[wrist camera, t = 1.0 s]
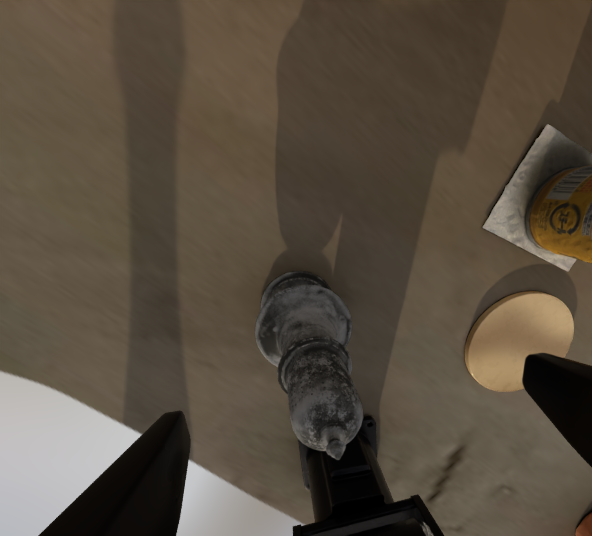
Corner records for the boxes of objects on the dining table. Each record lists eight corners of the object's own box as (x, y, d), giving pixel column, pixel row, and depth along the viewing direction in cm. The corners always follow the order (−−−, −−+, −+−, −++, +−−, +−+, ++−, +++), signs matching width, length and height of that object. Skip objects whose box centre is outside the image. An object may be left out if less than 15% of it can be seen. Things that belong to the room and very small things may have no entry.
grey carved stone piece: (354, 304, 21) (457, 448, 10) (297, 356, 22) (332, 545, 11) (298, 249, 20) (346, 347, 8) (238, 308, 21) (208, 471, 9)
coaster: (558, 379, 26) (563, 382, 25) (460, 395, 25) (464, 400, 25) (577, 283, 23) (584, 285, 23) (468, 299, 22) (472, 302, 22)
